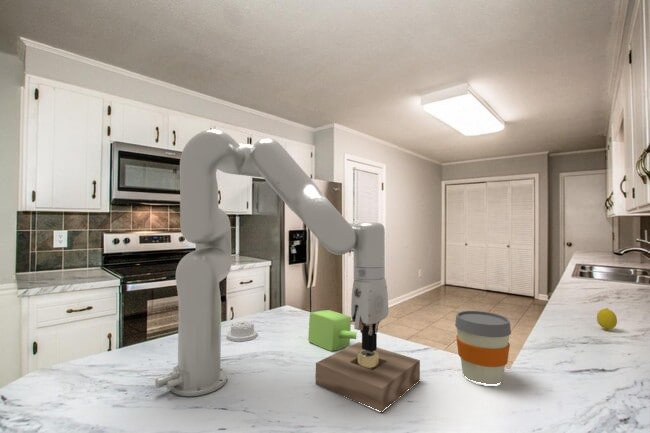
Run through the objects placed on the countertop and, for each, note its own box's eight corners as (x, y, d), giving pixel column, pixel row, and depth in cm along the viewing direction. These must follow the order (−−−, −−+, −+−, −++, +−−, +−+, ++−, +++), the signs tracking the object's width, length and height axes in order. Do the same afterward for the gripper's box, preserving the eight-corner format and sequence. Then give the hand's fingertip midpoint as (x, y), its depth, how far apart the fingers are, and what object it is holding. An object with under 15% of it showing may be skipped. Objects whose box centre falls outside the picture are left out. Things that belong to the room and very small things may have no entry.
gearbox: (364, 349, 100) (366, 318, 100) (343, 357, 93) (345, 323, 93) (323, 333, 113) (325, 306, 113) (302, 339, 106) (303, 310, 106)
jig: (381, 413, 65) (381, 388, 65) (315, 383, 77) (315, 362, 77) (419, 380, 79) (419, 360, 79) (358, 359, 91) (358, 341, 91)
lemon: (593, 328, 119) (593, 306, 119) (603, 327, 121) (603, 305, 121) (610, 333, 114) (610, 310, 114) (620, 332, 116) (620, 309, 116)
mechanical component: (222, 342, 104) (253, 342, 104) (222, 328, 104) (253, 328, 104) (231, 331, 114) (260, 332, 114) (231, 319, 114) (260, 319, 114)
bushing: (371, 390, 74) (371, 359, 74) (353, 383, 78) (353, 353, 78) (382, 382, 78) (382, 352, 78) (365, 375, 81) (365, 347, 82)
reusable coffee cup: (511, 373, 83) (511, 315, 83) (510, 396, 72) (510, 328, 72) (459, 362, 89) (459, 308, 90) (451, 381, 79) (451, 319, 79)
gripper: (364, 279, 70) (365, 364, 70) (397, 271, 82) (398, 344, 81) (337, 275, 75) (337, 355, 75) (372, 268, 87) (372, 337, 86)
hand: (369, 349), depth 78 cm, fingers closed
